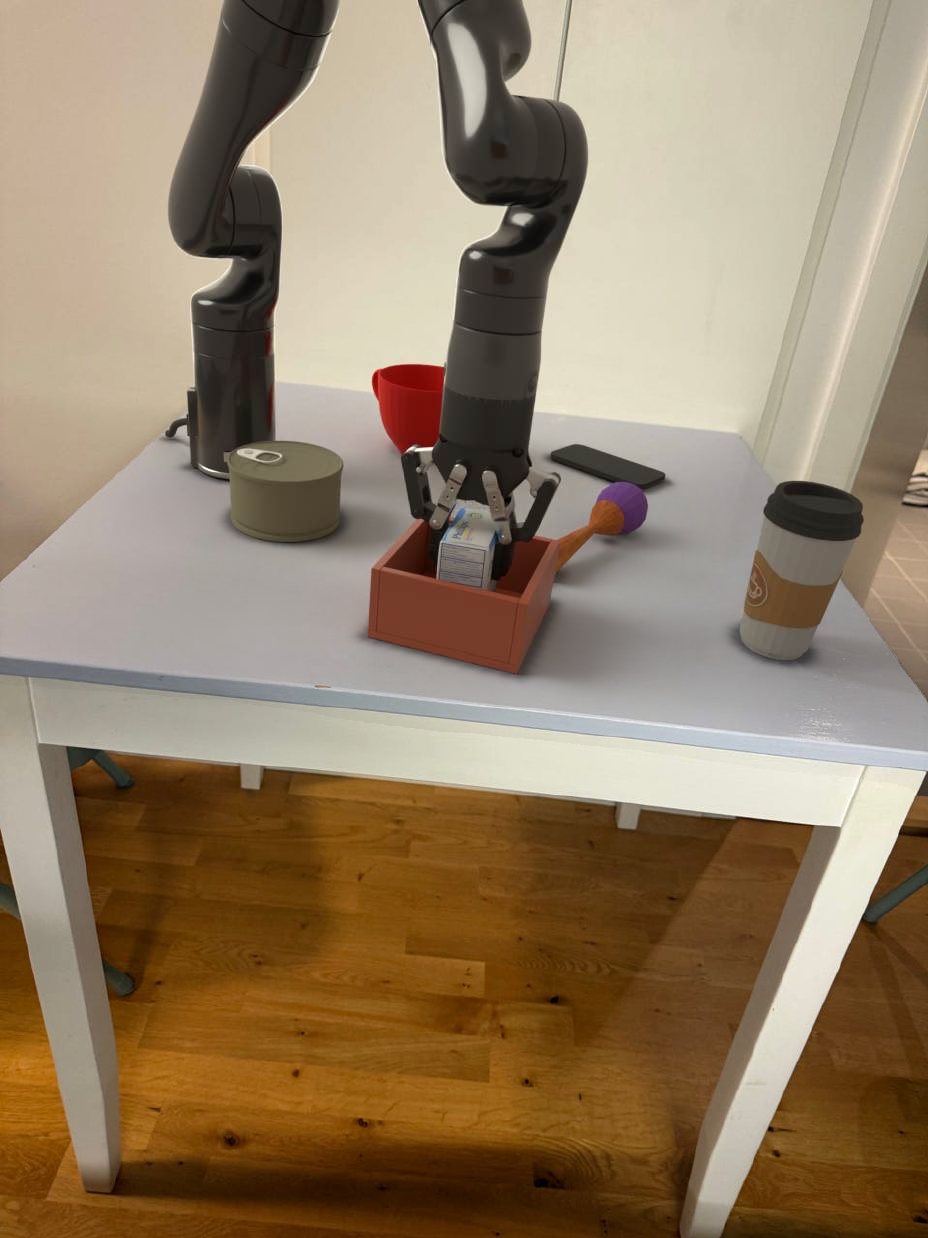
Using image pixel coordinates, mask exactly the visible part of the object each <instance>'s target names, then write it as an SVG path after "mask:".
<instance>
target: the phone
mask: <svg viewBox="0 0 928 1238" xmlns="http://www.w3.org/2000/svg"><path fill="white" fill-rule="evenodd" d="M549 457H550V459H551V460H553V461H554V462H555V461H556V462H559V463H561V464H564V465H567V466H569V467H573V468H576V469H578V470H581V471H583V472H587V473H589V474H592V475H595V476H598V477H601V478H603V479H605V480H609V481H612V482H614V483H616V482H627V483H630V484H633V485H636V486H637V487H638V488H640V489H641V490H644V489H648V488H650V487H652V486H654V485H656V484H659V483H661V482H663V481H665V480H666V473H665V472H664V471H661V470H659V469H656V468H653V467H649V466H646V465H644V464H640V463H638V462H634V461H632V460H630V459H627V458H623V457H620V456H617V455H614V454H611V453H608V452H606V451H602V450H599V449H596V448H593V447H590V446H587V445H584V444H580V443H574V444H569V445H567V446H564V447H561V448H558V449H555V450H553V451H551V452H550V456H549Z"/></svg>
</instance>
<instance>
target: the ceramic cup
mask: <svg viewBox="0 0 928 1238" xmlns="http://www.w3.org/2000/svg"><path fill="white" fill-rule="evenodd" d="M443 371H444V366H440V365H434V364H423V363H421V364H420V363H403V364H393V365H389V366H386V367H382V368H378V369H376V370H374V371H373V373H372V376H371V387H372V391H373V393H374V396H375V398H376V401H378V407H379V415H380V418H381V423H382V426H383V428H384V431H385V432H386V435H387V436H388V438H389V439H390V441H391V442H392V443H393V444H394V446H395V447H396V448H397V450H398V452H399V453H401V454H402V455H403V454H404V453H405V452H406V451H407V450H408V449H409V448H411V447H412V446H413V445H419V446H421V447H422V448H429V447H434V446H435V444H436V443H437V441H438V439H439V430H440V419H441V408H442V397H443V386H444V375H443Z"/></svg>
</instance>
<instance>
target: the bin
mask: <svg viewBox="0 0 928 1238" xmlns="http://www.w3.org/2000/svg"><path fill="white" fill-rule="evenodd" d="M454 518H455V517H453V516H450V519H449V523H452V521H453V520H454ZM430 535H431V527H430V525H429V524H428V523H427V522H426V521H424V520H423V519H415V520H414V521H413V522H412V523H411V524H410V525H409V526H408V528H407V529H406V530H405V531H404V532H403V533H402V534H401V535H400V537H399V538H398V539H397V540H396V541H395V542H394V543H393V544H392V546H390V547H389V549H387V551H386V552H385V553H384V554H383V555H382V556H381V557H380V558H379V559H378V561H376V563H375V564H374V565H373V566H371V571H370V586H369V588H370V589H369V603H368V604H369V605H368V623H367V637H368V638H369V639H370V638H371V639H375V640H378V641H383V642H387V643H390V644H394V645H400V646H403V647H406V648H410V649H415V650H419V651H423V652H427V653H432V654H435V655H439V656H444V657H448V658H451V659H456V660H459V661H462V662H467V663H470V664H475V665H480V666H482V667H487V668H492V669H495V670H499V671H503V672H508V673H510V674H511V673H512V674H515V675H516V674H518V672H519V671H520V668H521V666H522V663H523V662H524V659H525V657H526V655H527V653H528V651H529V649H530V646H531V644H532V643H533V640H534V638H535V636H536V634H537V631H538V630H539V627H540V625H541V623H542V621H543V619H544V617H545V615H546V613H547V610H548V608H549V606H550V604H551V599H552V594H553V587H554V581H555V576H556V573H555V570H556V564H557V558H558V553H559V547H560V541H559V540H557V539H555V538H550V537H545V536H540V535H537V534H535V535H534V537H533V539H532V540H531V541H530V542H523V541H518V542H515V547H514V554H513V561H512V566H511V568H510V569H509V571H508V573H507V574H506V576H502V577H501V578H500V580H499V581H497V582H496V590H495V592H491V591H486V590H482V589H478V588H473V587H469V586H465V585H460V584H456V583H452V582H447V581H443V580H439V579H437V567H434V560H430V557H429V546H430Z"/></svg>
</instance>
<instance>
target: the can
mask: <svg viewBox="0 0 928 1238" xmlns="http://www.w3.org/2000/svg"><path fill="white" fill-rule="evenodd" d="M227 464H228V467H229V474H230V479H229V492H230V493H229V494H230V496H229V497H230V511H231V513H230V520H231V523H232V525H233V527H234V528H236V530H238V531H239V532H241V533H243V534H244V535H247V536H249V537H252V538H255V539H259V540H263V541H269V542H276V543H300V542H308V541H313V540H316V539H320V538H323V537H326V536H328V535H330V534H331V533H333V532H334V531H336V529H337V528H338V527H339V525H340V510H341V491H342V490H341V489H342V487H341V486H342V473H343V469H344V460H343V458H342V457H341V456H340V455H339V454H338V453H336V452H335V451H333V450H331V449H329V448H327V447H324V446H321V445H317V444H314V443H309V442H305V441H304V442H302V441H296V440H295V441H293V440H276V441H264V442H257V443H251V444H247V445H244V446H241V447H239V448H237V449H235V450H233V451H232V452H231V453H230V454H229V455H228V458H227Z"/></svg>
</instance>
